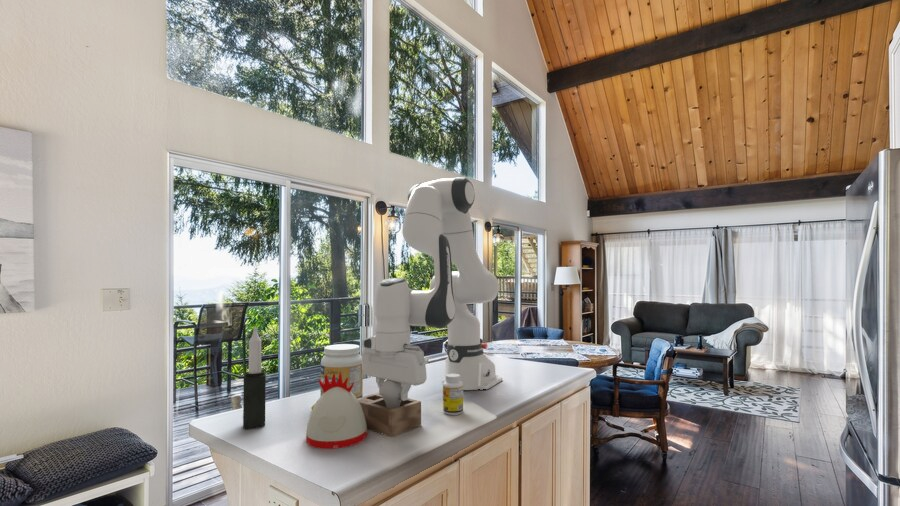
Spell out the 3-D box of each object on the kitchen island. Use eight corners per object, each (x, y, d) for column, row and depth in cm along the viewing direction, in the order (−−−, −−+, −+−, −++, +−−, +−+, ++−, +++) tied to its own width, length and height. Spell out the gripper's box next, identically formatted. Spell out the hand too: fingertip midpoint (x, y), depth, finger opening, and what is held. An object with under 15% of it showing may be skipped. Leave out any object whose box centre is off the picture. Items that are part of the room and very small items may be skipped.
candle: (243, 423, 114) (244, 326, 115) (265, 420, 116) (265, 325, 117) (242, 430, 109) (244, 328, 110) (265, 427, 111) (266, 327, 112)
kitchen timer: (314, 427, 110) (314, 367, 111) (369, 426, 111) (369, 366, 112) (299, 450, 97) (299, 381, 97) (362, 447, 98) (362, 379, 98)
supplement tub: (311, 407, 127) (311, 348, 128) (339, 396, 138) (339, 342, 139) (343, 413, 122) (344, 351, 123) (371, 401, 133) (371, 344, 133)
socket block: (381, 413, 121) (380, 391, 121) (421, 425, 111) (421, 401, 112) (351, 423, 113) (351, 400, 113) (392, 437, 103) (392, 411, 104)
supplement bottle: (442, 409, 124) (442, 372, 124) (462, 409, 124) (462, 372, 125) (443, 416, 118) (443, 377, 119) (463, 415, 119) (463, 377, 119)
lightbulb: (401, 426, 107) (401, 381, 108) (377, 425, 108) (377, 380, 109) (408, 418, 113) (407, 375, 114) (385, 417, 114) (384, 374, 115)
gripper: (431, 344, 107) (432, 401, 107) (375, 337, 120) (376, 388, 120) (414, 348, 103) (414, 408, 102) (357, 340, 115) (357, 393, 115)
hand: (393, 397), depth 111 cm, fingers closed on lightbulb, 6 cm apart
